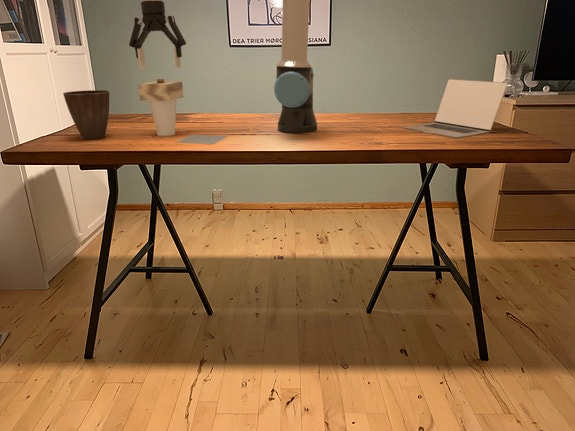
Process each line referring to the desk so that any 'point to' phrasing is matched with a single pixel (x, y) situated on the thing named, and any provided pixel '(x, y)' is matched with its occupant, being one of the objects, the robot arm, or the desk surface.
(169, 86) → the lid
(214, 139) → the mat
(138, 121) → the desk surface
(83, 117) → the plant pot
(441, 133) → the laptop
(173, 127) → the foam cup
